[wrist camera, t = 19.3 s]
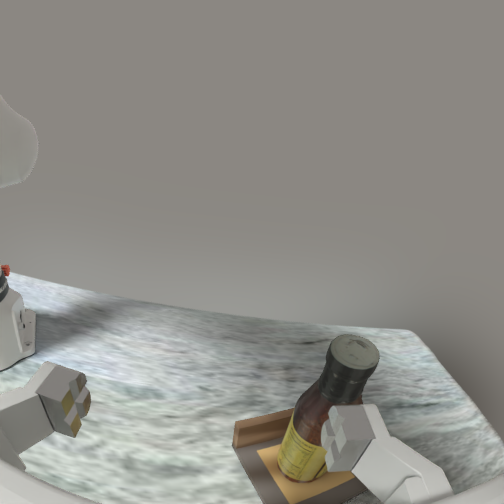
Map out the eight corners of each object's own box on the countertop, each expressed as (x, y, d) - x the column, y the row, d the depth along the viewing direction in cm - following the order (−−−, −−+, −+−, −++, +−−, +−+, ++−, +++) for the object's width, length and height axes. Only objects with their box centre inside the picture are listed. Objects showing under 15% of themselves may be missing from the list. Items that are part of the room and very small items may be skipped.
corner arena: (232, 445, 33) (235, 421, 32) (320, 421, 39) (329, 397, 38) (279, 529, 22) (289, 512, 20) (376, 484, 27) (392, 462, 26)
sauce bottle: (315, 440, 33) (374, 319, 25) (332, 478, 28) (413, 367, 20) (265, 449, 32) (307, 326, 23) (279, 491, 26) (341, 385, 18)
